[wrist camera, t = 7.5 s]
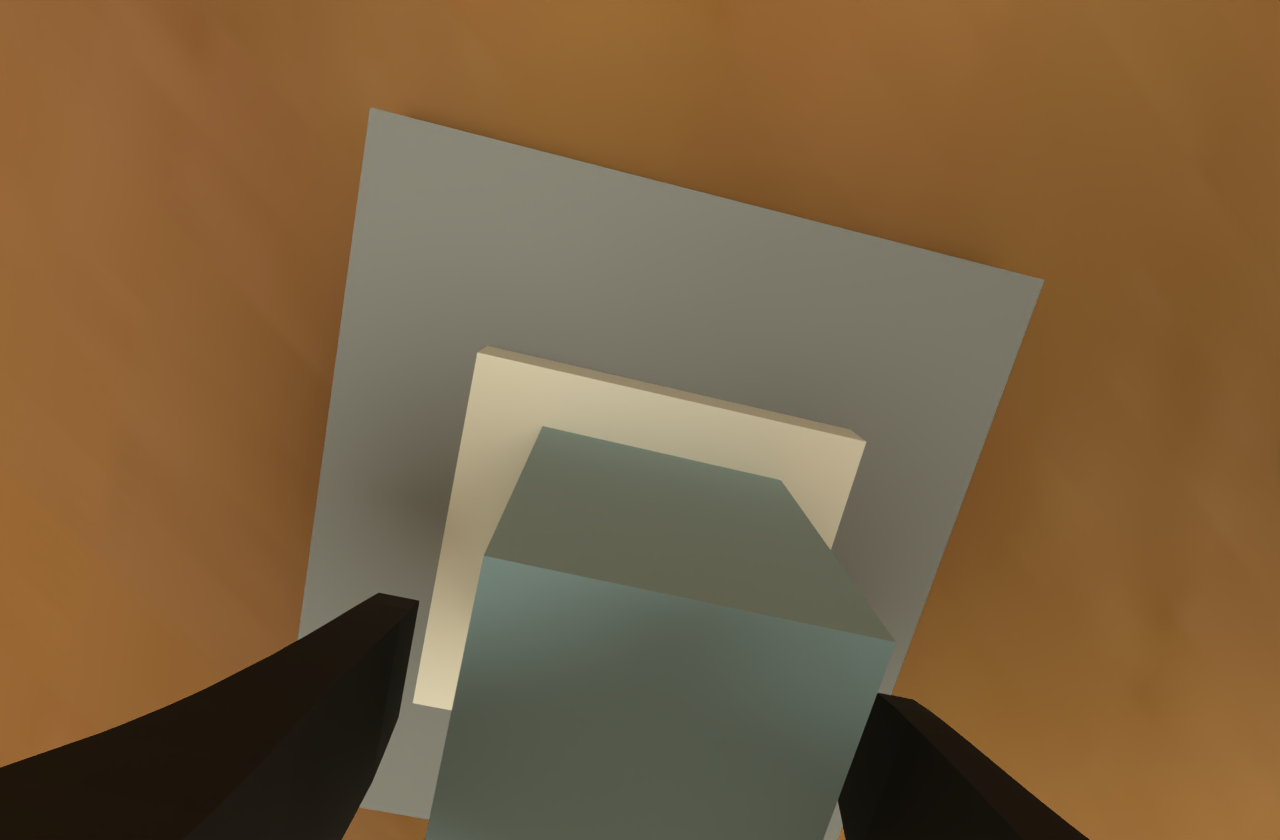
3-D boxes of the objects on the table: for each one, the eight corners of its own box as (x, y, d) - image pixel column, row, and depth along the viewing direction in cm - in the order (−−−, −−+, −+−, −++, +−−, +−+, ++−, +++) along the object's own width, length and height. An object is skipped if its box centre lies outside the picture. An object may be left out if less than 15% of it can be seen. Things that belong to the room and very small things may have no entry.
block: (781, 480, 14) (896, 642, 8) (717, 687, 15) (778, 961, 9) (542, 426, 14) (483, 555, 8) (495, 643, 15) (412, 900, 9)
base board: (993, 276, 16) (1075, 281, 13) (800, 823, 20) (831, 923, 17) (402, 126, 15) (349, 95, 12) (313, 736, 19) (255, 826, 16)
